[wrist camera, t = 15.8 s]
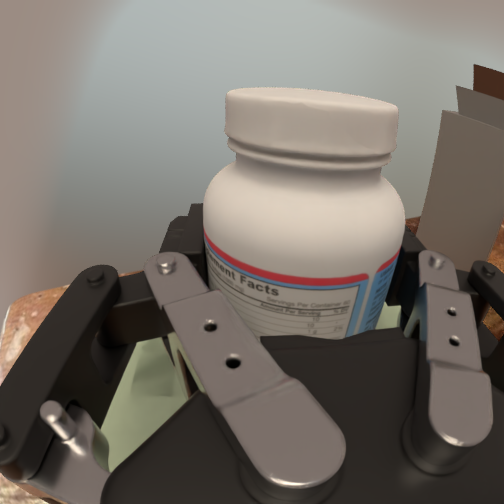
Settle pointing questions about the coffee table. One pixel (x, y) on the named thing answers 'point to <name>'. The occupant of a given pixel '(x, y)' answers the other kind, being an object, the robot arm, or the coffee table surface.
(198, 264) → the robot arm
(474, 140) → the perfume bottle
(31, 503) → the coffee table surface
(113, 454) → the hole plate
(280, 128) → the pill bottle
